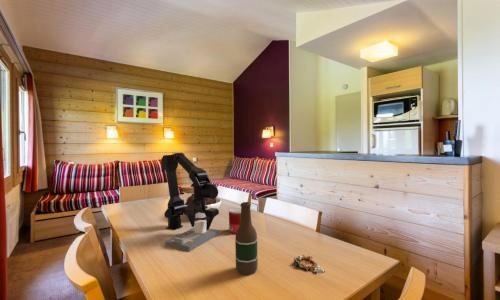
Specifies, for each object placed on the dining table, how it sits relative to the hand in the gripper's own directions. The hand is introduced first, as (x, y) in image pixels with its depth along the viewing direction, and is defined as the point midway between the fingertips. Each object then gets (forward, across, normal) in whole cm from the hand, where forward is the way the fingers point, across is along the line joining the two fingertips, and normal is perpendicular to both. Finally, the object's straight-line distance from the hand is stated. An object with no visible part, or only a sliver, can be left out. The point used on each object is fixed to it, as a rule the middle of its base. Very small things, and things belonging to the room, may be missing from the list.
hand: (200, 228), depth 123 cm
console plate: (+4, 0, -5) cm, 6 cm away
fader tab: (+2, 0, 0) cm, 2 cm away
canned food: (+4, +13, +13) cm, 19 cm away
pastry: (+4, +55, -7) cm, 56 cm away
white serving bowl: (+4, -21, +27) cm, 34 cm away
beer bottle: (+4, +36, -19) cm, 41 cm away
